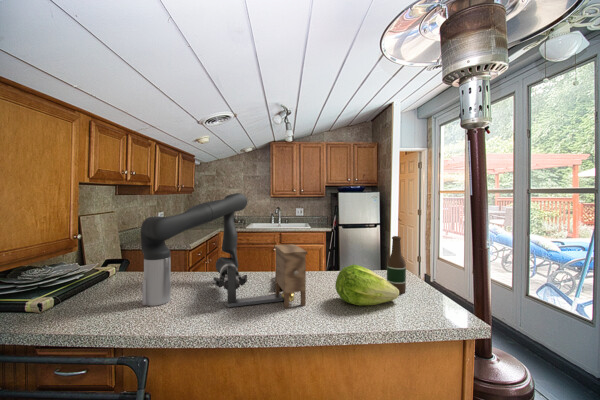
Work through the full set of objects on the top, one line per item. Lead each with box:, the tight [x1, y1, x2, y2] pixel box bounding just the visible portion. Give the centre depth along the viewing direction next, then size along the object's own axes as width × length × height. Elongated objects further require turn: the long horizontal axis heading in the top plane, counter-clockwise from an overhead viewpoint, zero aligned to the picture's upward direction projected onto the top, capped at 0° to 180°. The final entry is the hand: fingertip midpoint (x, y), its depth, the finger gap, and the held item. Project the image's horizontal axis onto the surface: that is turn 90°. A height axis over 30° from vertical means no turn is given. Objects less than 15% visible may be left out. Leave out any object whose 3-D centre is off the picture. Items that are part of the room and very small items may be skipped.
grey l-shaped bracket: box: [226, 266, 284, 308], centre depth 105 cm, size 21×4×14 cm, turn 108°
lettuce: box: [334, 264, 400, 306], centre depth 106 cm, size 15×24×16 cm
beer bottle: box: [386, 235, 407, 295], centre depth 119 cm, size 8×8×24 cm
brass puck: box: [281, 291, 295, 303], centre depth 110 cm, size 5×5×2 cm
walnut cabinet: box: [273, 243, 308, 309], centre depth 109 cm, size 9×18×20 cm, turn 18°
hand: (232, 286), depth 100 cm, fingers closed on grey l-shaped bracket, 3 cm apart
